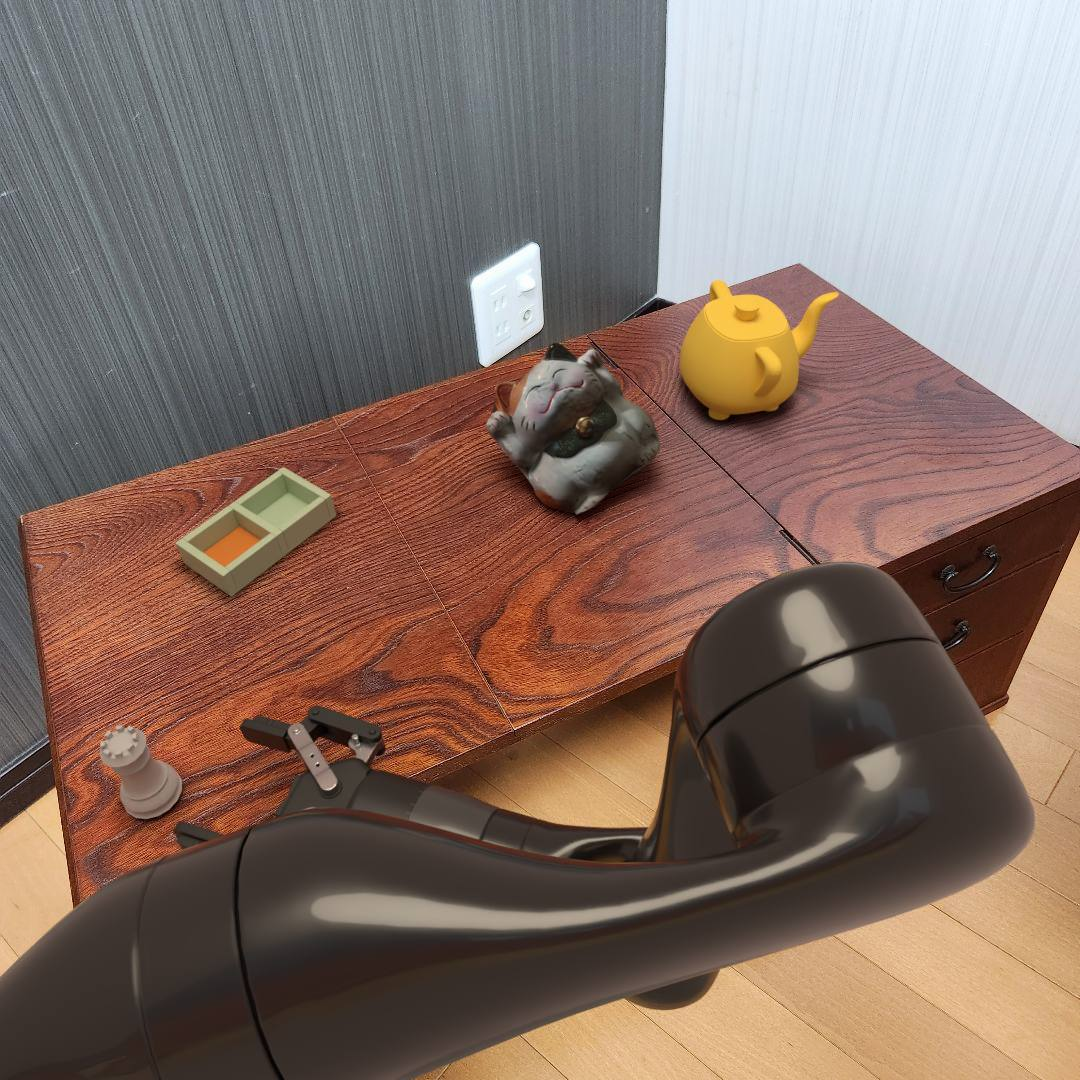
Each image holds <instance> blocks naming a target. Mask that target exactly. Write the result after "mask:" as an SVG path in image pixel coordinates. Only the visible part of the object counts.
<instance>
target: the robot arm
mask: <svg viewBox="0 0 1080 1080" xmlns="http://www.w3.org/2000/svg"><path fill="white" fill-rule="evenodd" d="M950 657H951V656H949V654H948V653H947V651H946V649H945V647H944V646H943V644H942V642H941V640H940V639H939V637H938V635H937V633H936V632H935V629H934V628H933V627H932V626H931V624H930V622H929V621H928V618H927V617H926V616H925V614H923V612H922V611H921V609H920V607H919V606H918V605H917V604H916V602H915V601H914V600H913V599H912V598H911V596H910V595H909V594H908V593H907V592H906V590H905V589H904V588H903V587H902V586H901V585H900V583H899V582H898V581H897V580H896V579H895V578H894V577H893V576H891V575H890V574H888V573H887V572H886V571H884V570H882V569H880V568H878V567H876V566H874V565H871V564H867V563H863V562H857V561H847V560H845V561H828V562H822V563H817V564H813V565H808V566H804V567H800V568H795V569H793V570H792V569H791V570H789V571H787V572H783V573H780V574H778V575H776V576H773V577H771V578H768V579H765V580H764V581H761V582H759V583H757V584H755V585H754V586H751V587H750V588H748V589H746V590H744V591H743V592H741V593H739V594H737V595H736V596H734V597H733V598H732V599H731V600H729V601H728V602H727V603H725V604H723V605H722V606H721V607H719V608H718V609H717V610H715V612H713V614H711V615H710V617H708V619H706V621H704V623H702V625H700V627H699V628H698V629H697V631H696V632H695V633H694V634H693V636H692V637H691V639H689V642H688V643H687V645H686V646H685V649H684V651H683V653H682V655H681V657H680V660H679V663H678V665H677V668H676V672H675V677H674V685H673V695H672V705H671V708H672V709H671V721H670V722H671V723H670V730H669V737H668V743H667V751H666V758H665V765H664V770H663V771H664V772H663V776H662V777H663V778H662V784H661V788H660V794H659V800H658V803H657V806H656V807H657V808H656V810H655V814H654V816H653V818H652V820H651V822H650V824H649V825H648V826H628V827H626V826H625V827H623V826H621V827H614V826H613V827H611V826H610V827H605V826H603V827H602V826H587V825H586V826H584V825H573V824H572V825H571V824H563V823H557V822H552V821H548V820H545V819H540V818H536V817H534V816H530V815H526V814H523V813H521V812H520V813H519V812H515V811H513V810H509V809H506V808H501V807H500V806H496V805H493V804H491V803H488V802H487V801H484V800H482V799H480V798H478V797H475V796H473V795H471V794H467V793H464V792H460V791H457V790H454V789H451V788H446V787H443V786H439V785H436V784H433V783H428V782H425V781H423V780H419V779H415V778H412V777H408V776H404V775H401V774H398V773H394V772H390V771H387V770H384V769H374V768H372V767H371V765H372V763H373V762H374V760H375V758H376V757H378V758H379V757H381V756H383V755H384V754H385V753H386V750H387V747H386V743H385V739H384V736H383V732H382V728H381V726H379V725H378V724H375V723H372V722H370V721H366V720H363V719H359V718H357V717H354V716H351V715H348V714H345V713H342V712H339V711H337V710H334V709H330V708H327V707H325V706H322V705H319V704H318V705H313V706H311V707H310V708H309V709H308V710H307V716H305V717H304V718H303V719H302V720H301V721H299V722H295V723H288V722H284V721H282V720H278V719H273V718H271V717H267V716H263V715H258V716H254V717H253V718H252V719H251V718H247V717H246V718H244V719H243V721H242V722H241V723H240V725H239V730H240V732H241V734H242V737H243V738H244V739H245V740H246V741H247V742H249V743H251V744H255V745H259V746H262V747H265V748H268V749H273V750H276V751H279V752H281V753H282V752H283V753H285V754H290V753H291V752H292V750H293V751H295V753H296V755H297V757H298V758H299V760H300V762H301V763H302V765H303V768H304V769H305V771H304V772H302V774H300V775H295V777H294V778H293V780H292V782H291V784H290V788H289V791H288V794H287V796H286V797H285V798H284V799H283V801H281V803H280V804H279V805H278V807H277V809H276V810H275V812H274V817H272V818H269V819H266V820H262V821H260V822H259V823H255V824H251V825H248V826H246V827H243V828H240V829H236V830H234V831H231V832H228V833H226V834H224V833H220V832H217V831H214V830H211V829H207V828H205V827H202V826H198V825H195V824H191V823H188V822H185V821H182V820H180V821H178V822H177V824H176V825H175V827H174V828H173V830H172V832H173V834H174V835H175V837H176V838H177V839H176V842H177V844H178V845H179V847H180V848H181V849H180V850H177V851H175V852H172V853H169V854H167V855H164V856H161V857H158V858H156V859H152V860H150V861H148V862H146V863H143V864H141V865H138V866H136V867H134V868H132V869H130V870H129V871H126V872H125V873H123V874H121V875H119V876H117V877H116V878H115V879H113V880H112V881H110V882H109V883H107V884H105V885H104V886H102V887H101V888H99V889H98V890H96V891H95V892H93V893H92V894H91V895H89V896H87V898H85V899H84V900H83V901H81V902H80V903H79V904H78V905H76V906H75V907H74V908H72V909H71V910H70V911H69V912H67V914H65V915H64V916H63V917H62V918H61V919H60V920H58V921H57V922H56V923H55V924H54V925H52V927H50V929H48V930H47V931H46V932H45V933H44V934H43V935H42V936H41V937H40V938H39V939H37V940H36V941H35V942H34V943H33V945H31V946H30V947H29V948H28V949H27V950H26V951H25V952H24V953H23V954H22V955H20V957H18V958H17V960H15V962H13V963H12V965H10V966H9V967H8V968H7V970H5V971H4V972H3V974H1V975H0V1080H414V1079H416V1078H419V1077H421V1076H424V1075H426V1074H429V1073H431V1072H434V1071H436V1070H439V1069H441V1068H443V1067H446V1066H448V1065H451V1064H454V1063H456V1062H458V1061H460V1060H463V1059H465V1058H468V1057H471V1056H473V1055H475V1054H477V1053H480V1052H483V1051H486V1050H487V1049H490V1048H493V1047H494V1046H498V1045H500V1044H502V1043H505V1042H507V1041H510V1040H512V1039H515V1038H517V1037H519V1036H522V1035H526V1034H528V1033H529V1032H532V1031H534V1030H537V1029H540V1028H543V1027H545V1026H548V1025H550V1024H554V1023H556V1022H559V1021H562V1020H565V1019H567V1018H570V1017H572V1016H575V1015H577V1014H578V1015H579V1014H581V1013H584V1012H587V1011H591V1010H593V1009H597V1008H600V1007H602V1006H605V1005H608V1004H611V1003H615V1002H617V1001H620V1000H623V999H624V1000H626V1001H628V1002H630V1003H631V1004H634V1005H635V1006H639V1007H642V1008H645V1009H648V1010H656V1011H673V1010H674V1011H675V1010H678V1009H684V1008H686V1007H688V1006H691V1005H693V1004H695V1003H697V1002H699V1001H700V1000H701V999H703V998H704V997H705V996H706V995H707V994H708V992H709V991H710V990H711V989H712V987H713V985H714V983H715V982H716V979H717V978H718V977H719V973H720V971H721V970H723V969H726V968H730V967H734V966H736V965H740V964H743V963H746V962H749V961H753V960H756V959H760V958H763V957H767V956H770V955H772V954H776V953H779V952H783V951H787V950H790V949H793V948H797V947H800V946H803V945H806V944H810V943H813V942H816V941H820V940H824V939H827V938H830V937H834V936H837V935H839V934H843V933H846V932H850V931H854V930H857V929H860V928H863V927H866V926H869V925H872V924H876V923H879V922H882V921H885V920H886V921H887V920H888V919H892V918H895V917H898V916H901V915H903V914H906V913H909V912H912V911H915V910H918V909H921V908H923V907H927V906H929V905H931V904H934V903H937V902H939V901H942V900H944V899H947V898H949V897H953V896H954V895H956V894H958V893H961V892H962V891H964V890H967V889H969V888H970V887H973V886H975V885H977V884H979V883H981V882H983V881H985V880H987V879H989V878H990V877H992V876H993V875H995V874H997V873H999V872H1000V871H1001V870H1003V869H1004V868H1006V867H1007V866H1008V865H1010V863H1012V862H1013V861H1014V860H1015V859H1016V858H1017V857H1018V856H1019V855H1020V854H1022V852H1023V851H1024V849H1025V848H1026V847H1027V846H1028V845H1029V843H1030V842H1031V839H1032V838H1033V835H1034V832H1035V829H1036V815H1035V808H1034V805H1033V803H1032V800H1031V798H1030V796H1029V794H1028V790H1027V789H1026V786H1025V785H1024V783H1023V780H1022V779H1021V776H1020V774H1019V772H1018V770H1017V768H1016V767H1015V765H1014V763H1013V761H1012V760H1011V758H1010V756H1009V754H1008V752H1007V751H1006V749H1005V746H1003V743H1002V742H1001V740H1000V739H999V737H998V735H997V734H996V732H995V731H994V729H992V728H991V725H990V722H989V721H988V719H987V717H986V716H985V714H984V712H983V711H982V710H981V708H980V706H979V705H978V703H977V701H976V699H975V698H974V696H973V693H971V691H970V689H969V688H968V686H967V684H966V683H965V681H964V680H963V677H962V676H961V674H960V673H959V671H958V669H957V667H956V666H955V664H954V662H953V660H952V659H951V658H950ZM319 738H321V739H323V740H325V741H328V742H329V741H330V742H332V743H335V744H338V745H341V746H343V747H347V748H348V749H349V750H350V753H351V755H353V756H355V757H347V758H345V759H342V760H338V761H334V762H330V763H328V761H326V758H325V757H324V756H323V753H322V752H321V751H320V749H319V747H318V746H317V744H316V743H315V742H316V741H317V740H318V739H319Z"/></svg>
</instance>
